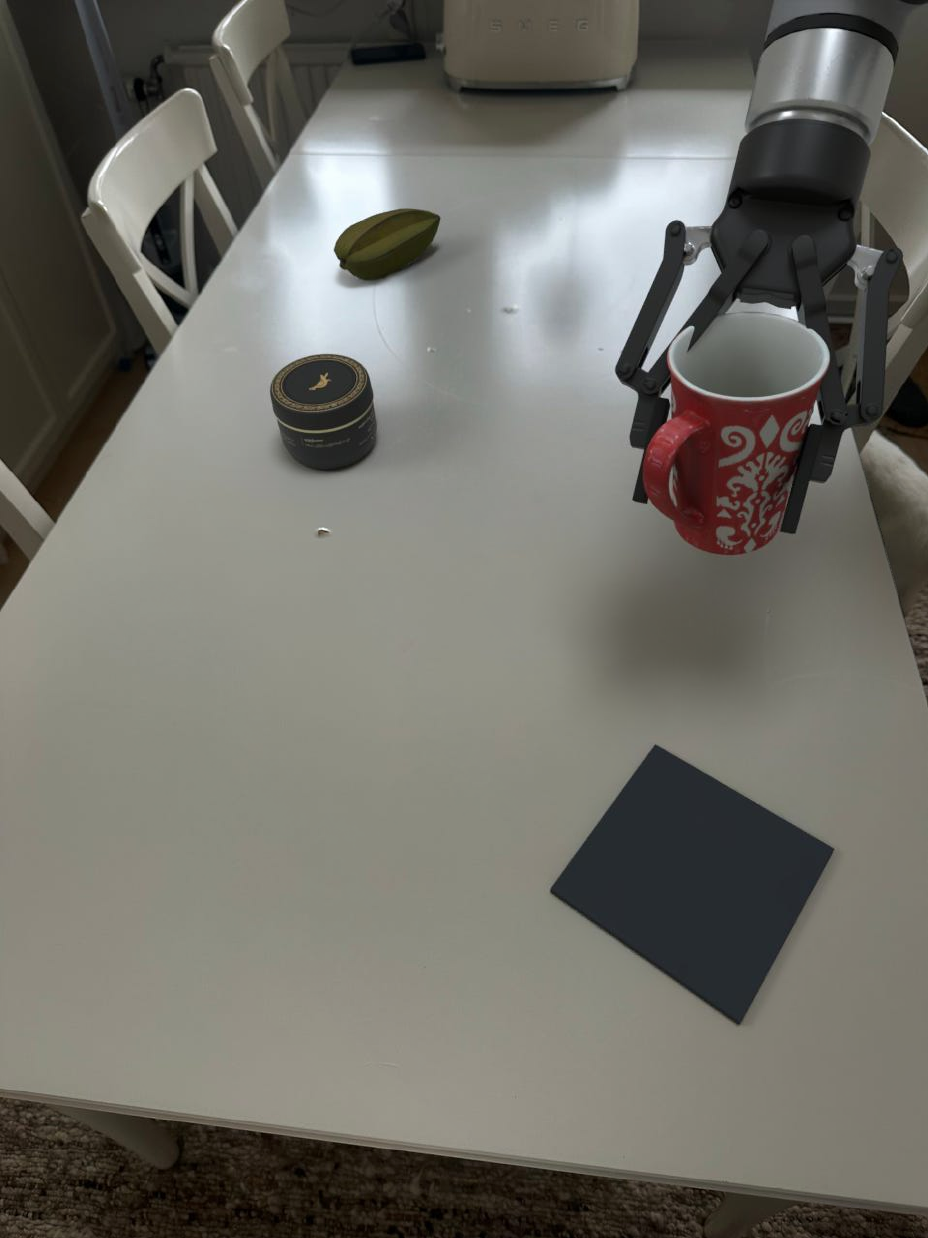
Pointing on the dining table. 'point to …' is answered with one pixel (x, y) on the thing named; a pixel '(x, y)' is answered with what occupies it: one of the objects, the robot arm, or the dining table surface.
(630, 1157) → the dining table surface
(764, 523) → the mug
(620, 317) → the dining table surface
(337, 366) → the jar
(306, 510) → the dining table surface
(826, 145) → the robot arm
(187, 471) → the dining table surface
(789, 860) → the mat
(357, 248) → the fruit
